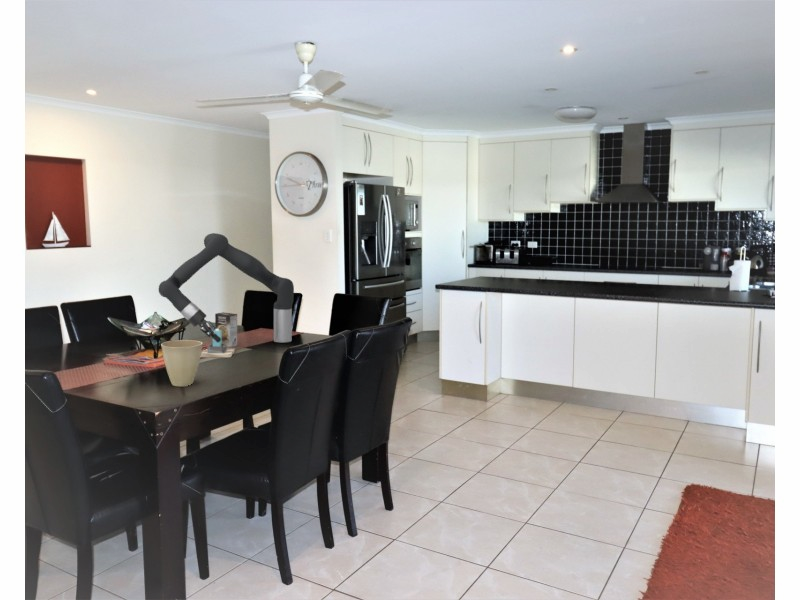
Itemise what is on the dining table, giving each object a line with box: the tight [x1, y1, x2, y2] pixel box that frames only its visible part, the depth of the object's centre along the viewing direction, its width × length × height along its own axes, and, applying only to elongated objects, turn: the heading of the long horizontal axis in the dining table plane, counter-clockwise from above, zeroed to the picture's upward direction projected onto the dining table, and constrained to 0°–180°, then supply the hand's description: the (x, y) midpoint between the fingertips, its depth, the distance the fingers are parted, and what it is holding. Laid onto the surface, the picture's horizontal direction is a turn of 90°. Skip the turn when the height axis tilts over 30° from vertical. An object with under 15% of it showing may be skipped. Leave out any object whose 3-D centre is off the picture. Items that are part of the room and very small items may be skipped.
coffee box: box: [214, 311, 238, 348], centre depth 310 cm, size 9×6×16 cm
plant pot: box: [160, 339, 203, 387], centre depth 237 cm, size 15×15×16 cm
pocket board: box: [200, 342, 236, 358], centre depth 291 cm, size 14×14×4 cm
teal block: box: [212, 329, 222, 347], centre depth 290 cm, size 4×4×10 cm
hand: (220, 340), depth 290 cm, fingers closed on teal block, 3 cm apart
